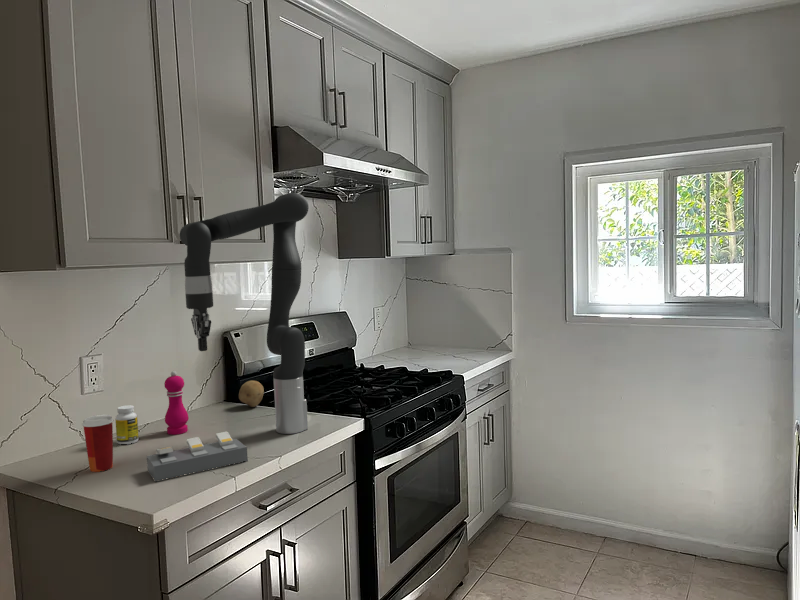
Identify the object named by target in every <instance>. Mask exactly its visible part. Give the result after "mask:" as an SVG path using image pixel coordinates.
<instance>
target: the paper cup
mask: <svg viewBox="0 0 800 600" xmlns="http://www.w3.org/2000/svg"><path fill="white" fill-rule="evenodd" d="M113 423H114V419H113V417H112V415H110V414H98V415H97V414H96V415H92V416H88V417H85V418H84V419H83V420H82V423H81V426H82V427H83V433H84V434H83V435H84V440H85V445H86V453H87V454H86V455H87V460H88V467H89V471H90V472H92V473H101V472H100V471H102V472H106V471H108V469H109V470H111V469H112V468H113V466H114V463H113V462H114V445H113V444H114V442H113V441H114V440H113V438H114V437H113V436H114V435H113V428H114V427H113ZM110 468H111V469H110ZM105 470H106V471H105Z"/></svg>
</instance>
